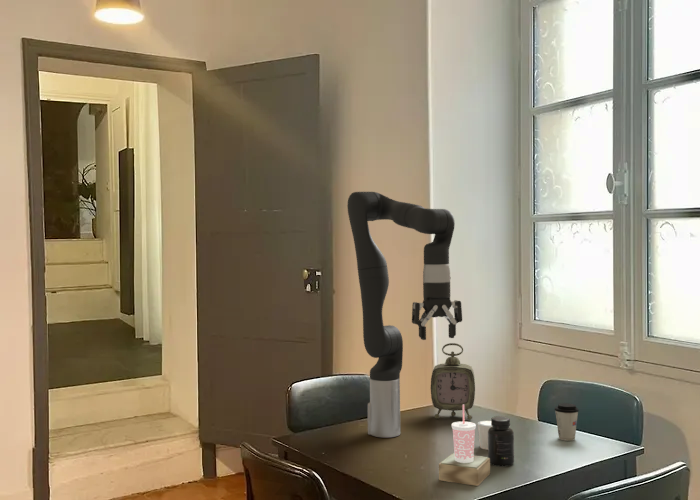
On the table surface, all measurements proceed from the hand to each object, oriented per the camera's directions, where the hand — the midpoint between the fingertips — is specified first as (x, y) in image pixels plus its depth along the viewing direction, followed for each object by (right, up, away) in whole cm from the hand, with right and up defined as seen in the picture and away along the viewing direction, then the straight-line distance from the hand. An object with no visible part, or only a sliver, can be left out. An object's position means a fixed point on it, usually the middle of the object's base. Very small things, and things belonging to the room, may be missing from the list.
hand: (437, 338), depth 202 cm
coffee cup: (+40, -32, +14) cm, 53 cm away
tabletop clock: (+10, -32, +41) cm, 52 cm away
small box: (+5, -32, -20) cm, 38 cm away
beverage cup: (+4, -28, -20) cm, 35 cm away
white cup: (+16, -32, +6) cm, 36 cm away
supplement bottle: (+16, -32, -9) cm, 37 cm away
